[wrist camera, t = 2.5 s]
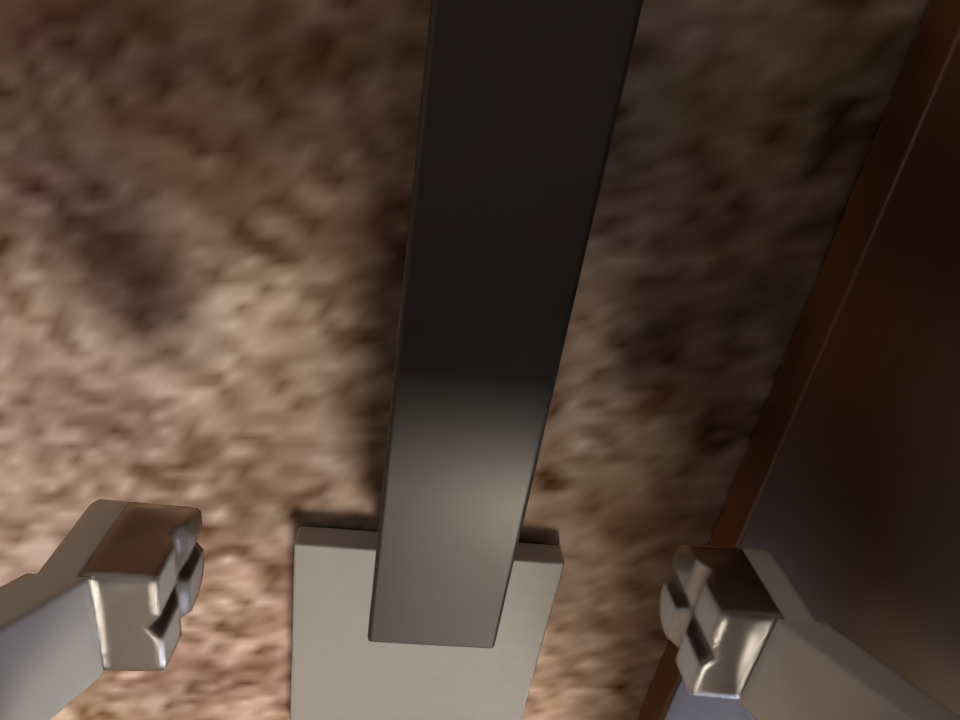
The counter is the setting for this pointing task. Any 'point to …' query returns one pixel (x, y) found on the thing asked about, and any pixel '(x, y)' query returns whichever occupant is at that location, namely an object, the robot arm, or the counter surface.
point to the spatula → (469, 373)
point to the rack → (870, 408)
